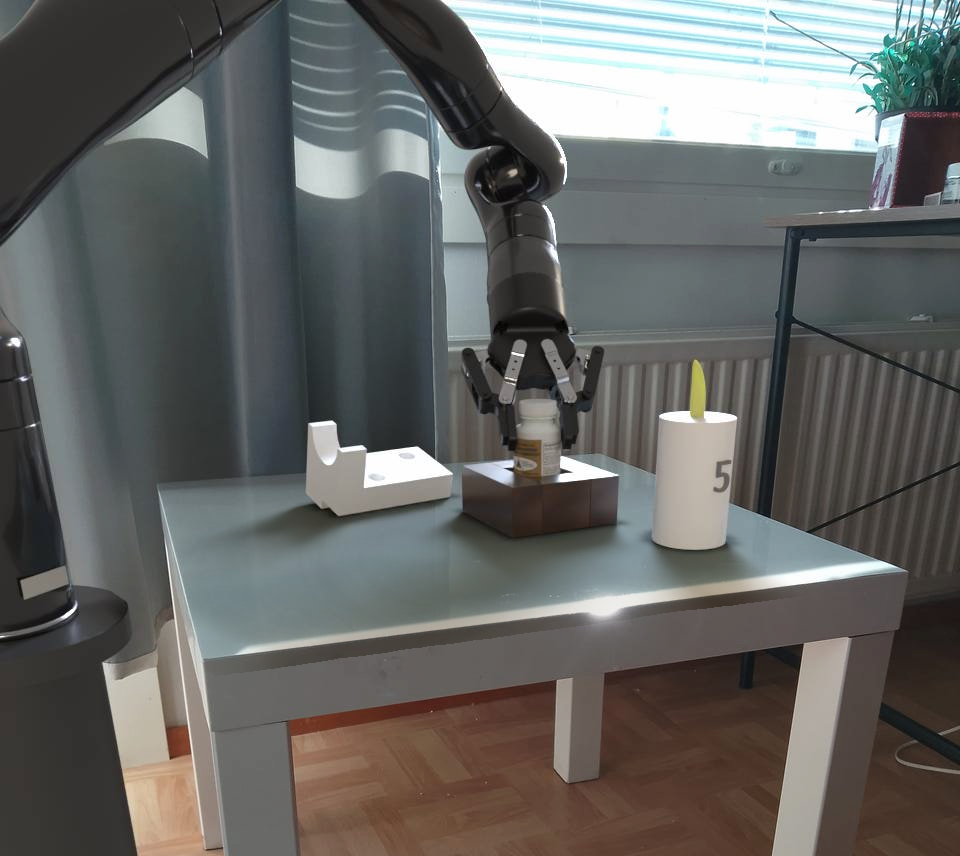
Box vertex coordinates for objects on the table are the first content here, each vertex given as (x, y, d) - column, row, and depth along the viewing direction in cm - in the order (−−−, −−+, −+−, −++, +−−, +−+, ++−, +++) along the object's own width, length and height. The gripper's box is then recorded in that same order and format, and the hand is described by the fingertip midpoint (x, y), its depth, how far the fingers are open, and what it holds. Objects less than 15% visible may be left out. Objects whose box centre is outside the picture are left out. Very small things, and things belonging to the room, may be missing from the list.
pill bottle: (503, 484, 88) (503, 400, 85) (537, 477, 90) (538, 396, 87) (535, 492, 85) (536, 405, 82) (569, 485, 87) (572, 401, 84)
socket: (512, 538, 82) (512, 487, 80) (462, 511, 91) (461, 465, 89) (617, 523, 86) (619, 475, 84) (559, 499, 95) (560, 455, 94)
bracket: (337, 524, 90) (342, 452, 86) (305, 493, 95) (308, 423, 90) (449, 505, 97) (458, 437, 93) (414, 476, 102) (421, 410, 97)
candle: (690, 554, 77) (705, 366, 71) (636, 537, 82) (646, 359, 76) (743, 542, 80) (761, 360, 74) (688, 526, 85) (701, 355, 79)
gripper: (453, 270, 87) (462, 422, 80) (605, 268, 88) (625, 419, 81) (452, 326, 94) (460, 470, 87) (592, 324, 94) (611, 467, 88)
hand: (540, 445), depth 84 cm, fingers closed on pill bottle, 4 cm apart
